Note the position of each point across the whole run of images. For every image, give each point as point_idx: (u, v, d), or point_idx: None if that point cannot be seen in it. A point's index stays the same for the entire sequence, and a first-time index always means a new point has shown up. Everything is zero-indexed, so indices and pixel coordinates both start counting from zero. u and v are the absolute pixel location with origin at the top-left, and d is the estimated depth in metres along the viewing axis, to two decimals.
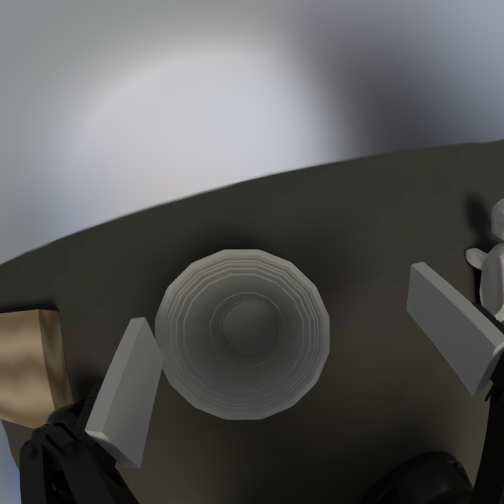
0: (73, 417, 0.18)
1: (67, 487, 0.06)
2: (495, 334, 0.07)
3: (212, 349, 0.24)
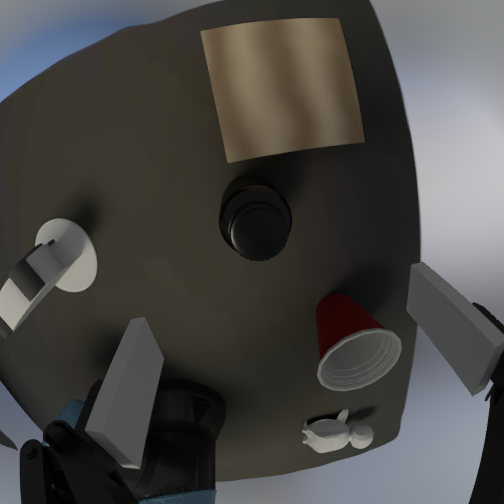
0: None
1: (67, 487, 0.06)
2: (495, 334, 0.07)
3: (333, 309, 0.36)
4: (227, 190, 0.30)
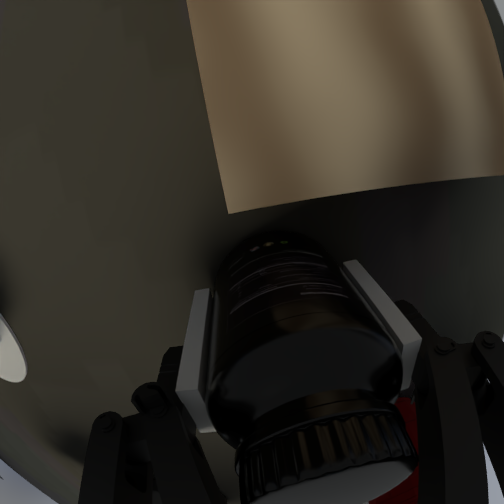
0: None
1: (142, 461, 0.07)
2: (407, 332, 0.09)
3: None
4: (227, 280, 0.12)
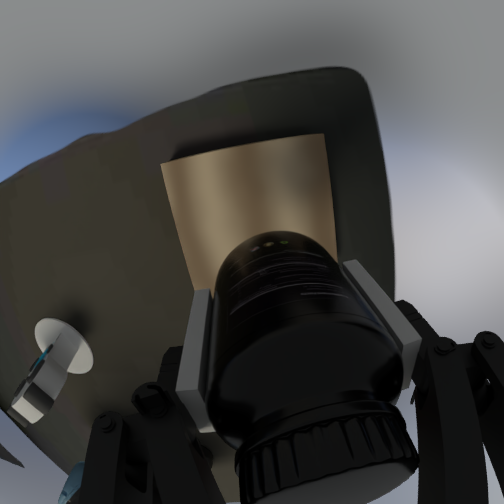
0: None
1: (142, 461, 0.07)
2: (407, 332, 0.09)
3: None
4: (227, 280, 0.12)
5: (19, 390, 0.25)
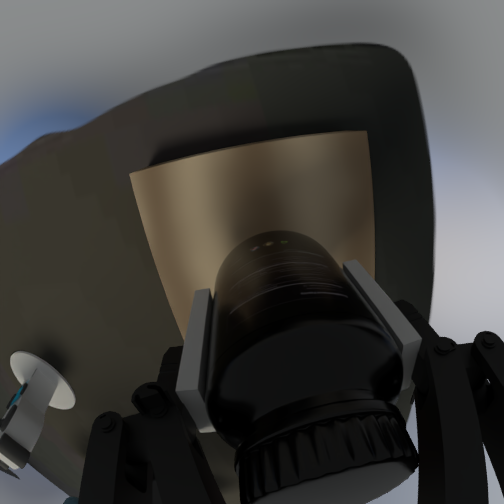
0: None
1: (143, 461, 0.07)
2: (407, 332, 0.09)
3: None
4: (227, 279, 0.12)
5: None
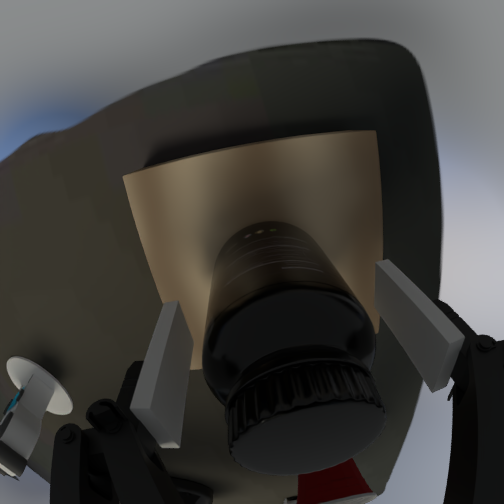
0: None
1: (104, 472, 0.07)
2: (451, 331, 0.08)
3: None
4: (223, 262, 0.14)
5: None
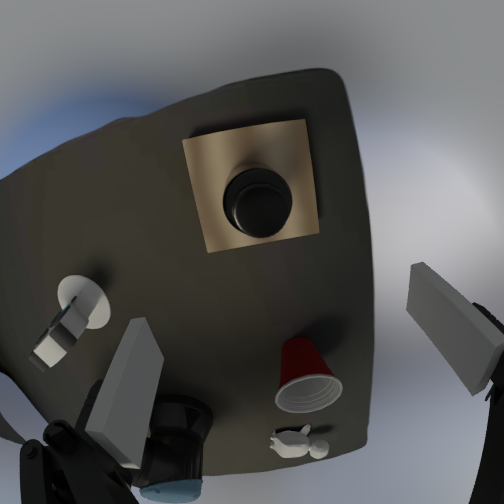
0: (289, 213, 0.28)
1: (67, 487, 0.06)
2: (495, 334, 0.07)
3: (293, 351, 0.46)
4: (230, 174, 0.31)
5: (42, 337, 0.34)
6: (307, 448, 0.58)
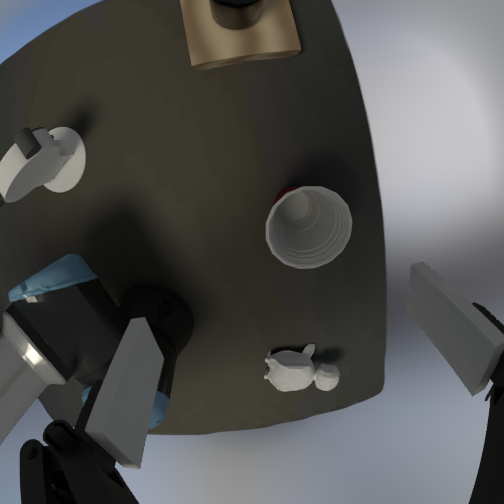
0: None
1: (67, 487, 0.06)
2: (495, 334, 0.07)
3: (286, 191, 0.40)
4: None
5: None
6: (312, 374, 0.51)
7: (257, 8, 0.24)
